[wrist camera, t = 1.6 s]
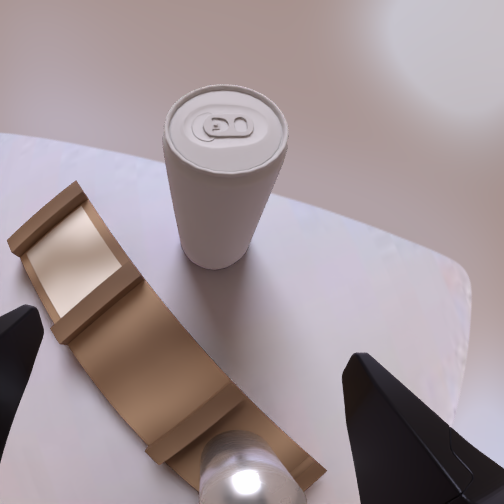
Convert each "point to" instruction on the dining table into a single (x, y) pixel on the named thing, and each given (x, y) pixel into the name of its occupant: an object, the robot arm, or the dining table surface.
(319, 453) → the dining table surface
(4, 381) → the robot arm
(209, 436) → the walnut rail
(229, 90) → the beverage can
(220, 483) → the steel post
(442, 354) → the dining table surface
